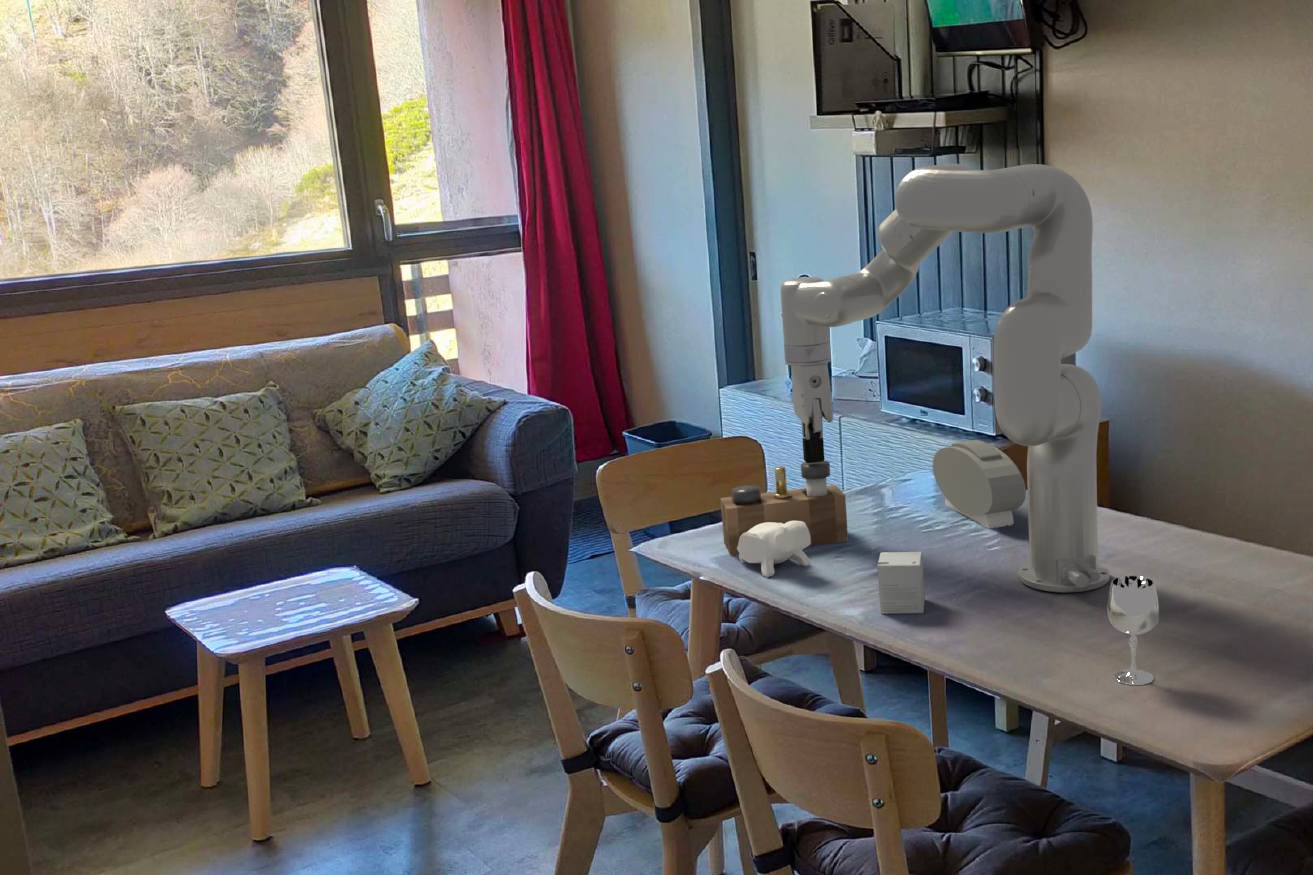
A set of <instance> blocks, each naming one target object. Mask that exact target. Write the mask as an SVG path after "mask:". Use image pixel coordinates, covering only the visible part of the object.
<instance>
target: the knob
mask: <svg viewBox="0 0 1313 875" xmlns="http://www.w3.org/2000/svg"><path fill="white" fill-rule="evenodd" d="M830 465H831V464H830V462H829V461H827V460H824V461H823V462H815V463H806V462H805V461H804V462H802V463H800V472H801V473H800V474H801V478H803V479H805V482H806V483H805V486H806V488H807V497H815V496H824V495H827V486H828V484H827V478H828V477H830V476H831V466H830Z"/></svg>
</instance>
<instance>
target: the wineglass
mask: <svg viewBox="0 0 1313 875" xmlns="http://www.w3.org/2000/svg"><path fill="white" fill-rule="evenodd" d="M1107 596H1108V597H1107V601H1106V602H1107V603H1106V612H1107V618H1108V620H1109V622H1110V624H1111V626H1112V627H1113V628H1114V629H1115V630H1117V631H1118V632H1121V633H1123V634H1126V635H1130V637H1129V638H1128V645H1129V646H1130V647H1129V648H1130V652H1131V666H1130V668H1129V669H1127V668H1126V669H1122V670H1118V671H1116V672H1115V673H1114V674H1113V677H1114V680H1116V681H1117V682H1119V683H1122V684H1123V685H1124V684H1125V685H1128V686H1143V685H1147V684H1150V683H1153V681H1154V680H1155V679H1154V678H1155V677H1154V675H1153V674H1152V673H1150V672H1148V671H1146V670H1143V669H1138V667H1137V662H1136V659H1137V658H1136V657H1137V656H1136V654H1137V648H1138V644H1139V641H1138V637H1137V636H1138V635H1143V634H1145V633H1148V632H1150V631H1152V630H1153V629H1154V628H1155V626H1156V625H1157V624H1158V621H1159V615H1160V604H1159V598H1158V593H1157V588H1156V586H1155V582H1154V581H1153V580H1152V579H1151V578H1149V577H1144V576H1141V575H1140V576H1139V575H1123V576H1118V577H1115V578H1113V579H1112V580H1111V583H1110V587H1109V590H1108V595H1107Z"/></svg>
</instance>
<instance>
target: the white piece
mask: <svg viewBox="0 0 1313 875" xmlns="http://www.w3.org/2000/svg"><path fill="white" fill-rule="evenodd" d="M810 543H811V540H810V533H809V530H808V527H807V526H806V524H805V523H804V522H802V521H789V522H787V523H785V524H783V523H776V522H765V523H761V524H758V525H756V526H754V527H753V528H751V529H750V530H749V531H748V532H745V533H743V534H742V535H741V536H740V539H739V543H738V547H736V548H737V550H738V552H739V553H740V554H738V559H739V561H740V563H741V564H744V563H746V562H747V563H749V564H761V565H760V569H761V570H760V571H761V574H762V576H763V577H764V576H765V578H770V576H771V577H773V576H774V574H775V568H774V565H776V564H780V563H783V562H786V561H787V560H788V559H792V560H794V561H796V562H797V563H798V564H799V565H800V566H802V565H803V566H802V567H807V565H808V566H810V564H811V560H810V558H809V557H808V556H807V555H806V553H805V552H804V551H803V550H805V548H808V547H810V546H809V545H810Z"/></svg>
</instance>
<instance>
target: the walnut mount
mask: <svg viewBox="0 0 1313 875" xmlns="http://www.w3.org/2000/svg"><path fill="white" fill-rule="evenodd" d="M787 491H789V492H791V497H790V498H786V499H775V498H773V493H774V492H775V491H771V492H763V493H762V492H761V501H760V502H758V503H754V504H748V505H737V504H734V503H733V502H732V496H728V497H727V496H726V497H721V498H720V501H719V502H720V508H721V509H720V510H721V512H720V513H721V524H722V535H723V544H724V545H725V547H726V550H727V551H728V554H729V556H734V555H739V554H740V553H739V552H738V550H737V548H736V547H738V543H739V539H740V536H741V535H742V534H743V533H745V532H748V531H749V530H750V529H751V528H753V527H754V526H756V525H758V524H761V523H765V522H776V523H783V524H785V523H787V522H789V521H802V522H804V523H805V524H806V526H807V527H808V530H809V533H810V540H811V543H810V545H809V546H808V547H810V546H818V545H827V544H836V543H842V542H843V543H845V542H849V532H848V518H847V517H848V516H847V515H848V514H847V501H846V494H845V493H844V492H843V491H842V490H841V489H840V488H839V487H838V486H837V485H836V484H832V485H827V495H824V496H815V497H807V487H806V488H798V489H789V490H788V489H787Z"/></svg>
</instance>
